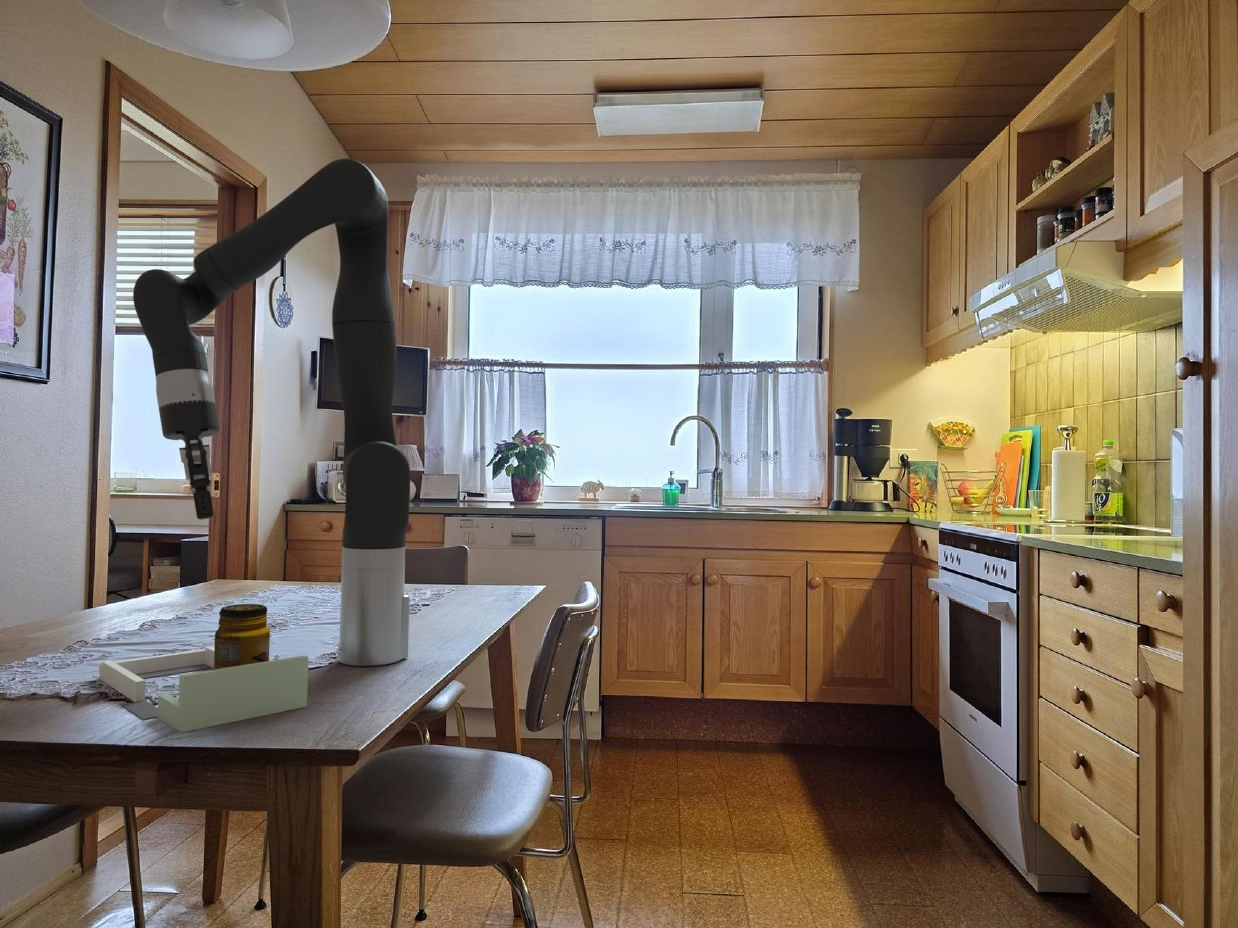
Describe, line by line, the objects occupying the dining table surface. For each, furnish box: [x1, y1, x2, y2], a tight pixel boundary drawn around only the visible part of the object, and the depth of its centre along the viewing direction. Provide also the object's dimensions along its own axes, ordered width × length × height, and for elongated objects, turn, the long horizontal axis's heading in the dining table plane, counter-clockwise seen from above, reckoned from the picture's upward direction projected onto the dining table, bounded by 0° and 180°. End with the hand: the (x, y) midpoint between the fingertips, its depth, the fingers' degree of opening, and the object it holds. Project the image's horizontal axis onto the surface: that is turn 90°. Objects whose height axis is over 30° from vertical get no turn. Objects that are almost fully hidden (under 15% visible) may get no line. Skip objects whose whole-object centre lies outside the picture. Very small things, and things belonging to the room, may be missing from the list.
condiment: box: [213, 603, 271, 670], centre depth 94 cm, size 7×8×12 cm
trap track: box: [98, 645, 309, 733], centre depth 99 cm, size 16×31×6 cm, turn 47°
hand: (205, 518), depth 115 cm, fingers closed
